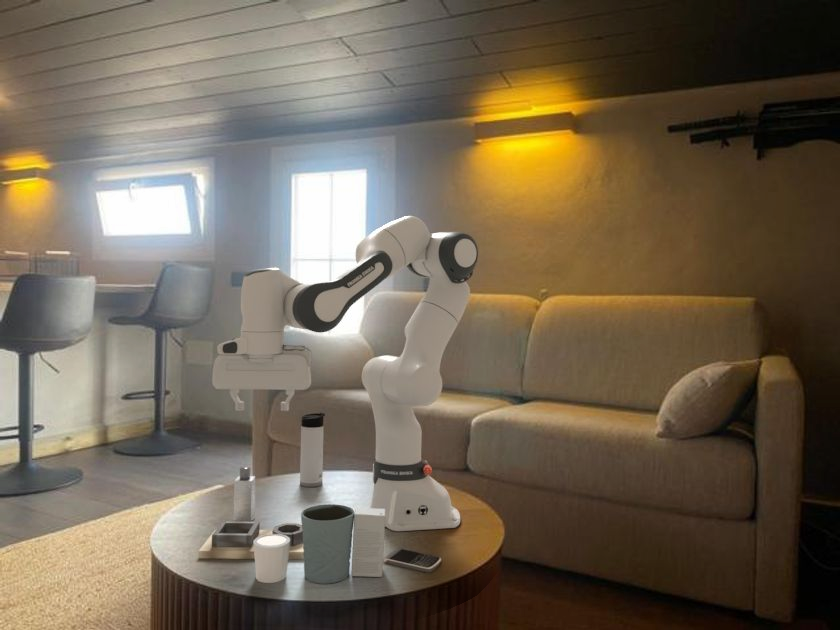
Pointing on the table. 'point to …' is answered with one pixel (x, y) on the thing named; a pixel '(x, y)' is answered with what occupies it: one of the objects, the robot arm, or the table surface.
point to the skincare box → (368, 542)
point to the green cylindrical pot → (327, 542)
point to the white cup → (271, 557)
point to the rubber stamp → (244, 496)
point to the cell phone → (412, 560)
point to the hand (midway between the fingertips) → (262, 410)
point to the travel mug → (311, 450)
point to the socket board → (248, 540)
